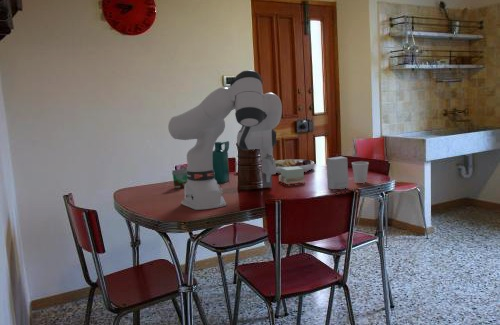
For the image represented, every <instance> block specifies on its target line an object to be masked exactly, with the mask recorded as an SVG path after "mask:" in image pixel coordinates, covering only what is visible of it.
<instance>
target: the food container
mask: <svg viewBox="0 0 500 325" xmlns="http://www.w3.org/2000/svg"><path fill="white" fill-rule="evenodd" d="M187 171H188V167H187V166H180V167H179V168H178V169H176V170H172V173H171V174H172V179H173V188H174V190H182V189H184V185H185V184H186V183H187V181H188V179H187Z"/></svg>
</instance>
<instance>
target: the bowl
mask: <svg viewBox="0 0 500 325" xmlns="http://www.w3.org/2000/svg"><path fill="white" fill-rule="evenodd" d="M275 163H276V173H281V168H285V167H295V166H297V167H300V168H303V170H304V171H308V170H311V169H312V170H313V169H314V167H315V162H314V161H312V160H309V159H307V158H305V159H290V158H289V159H288V158H287V159H278V160H275ZM312 170H311V171H312Z"/></svg>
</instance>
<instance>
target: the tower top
mask: <svg viewBox="0 0 500 325" xmlns="http://www.w3.org/2000/svg"><path fill="white" fill-rule="evenodd" d="M304 174H305V173H304V170H303V168H300V167H297V166H295V167H285V168H281V174H280V175H281V176H283V177H286V178H293V177H302V176H305V175H304Z"/></svg>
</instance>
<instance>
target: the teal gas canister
mask: <svg viewBox="0 0 500 325" xmlns="http://www.w3.org/2000/svg"><path fill="white" fill-rule="evenodd" d="M223 145H224V148H222V147H223ZM229 149H230V141H229V140H228V141H216V142H215V144H214V149H213V153H212V162H213V169H214V173H215V180H216V181H217V184H224V183H226V182H230V169H229V168H230V167H229V153H228V151H229Z"/></svg>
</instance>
